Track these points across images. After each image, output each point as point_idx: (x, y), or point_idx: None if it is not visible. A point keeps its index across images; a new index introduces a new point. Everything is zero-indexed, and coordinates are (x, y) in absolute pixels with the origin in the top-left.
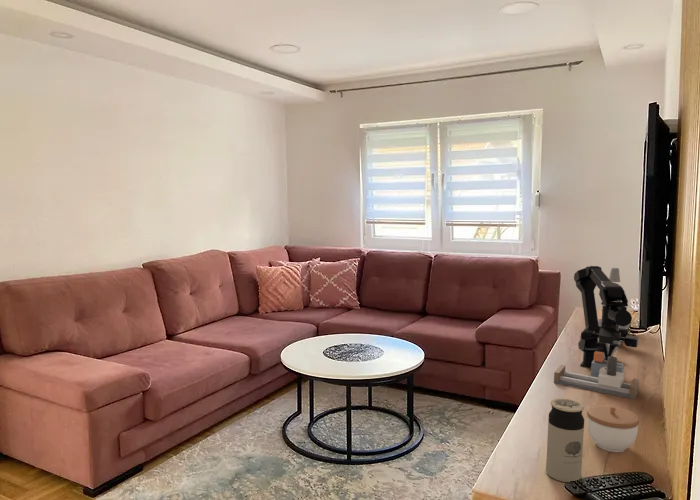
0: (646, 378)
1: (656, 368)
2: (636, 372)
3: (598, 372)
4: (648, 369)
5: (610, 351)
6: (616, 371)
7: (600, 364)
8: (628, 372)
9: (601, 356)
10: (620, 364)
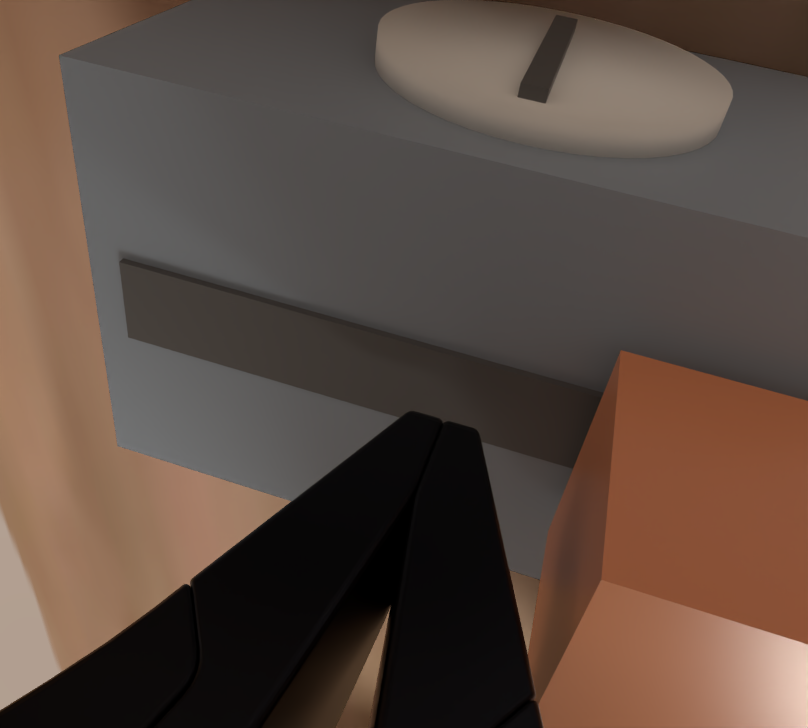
0: (38, 391)
1: (59, 653)
2: (173, 547)
3: (736, 120)
4: (103, 629)
5: (196, 673)
6: (255, 47)
7: (708, 208)
8: (246, 535)
9: (656, 513)
10: (160, 369)
